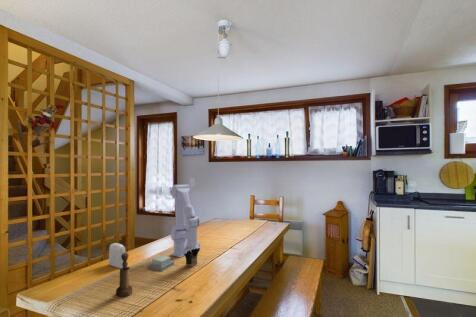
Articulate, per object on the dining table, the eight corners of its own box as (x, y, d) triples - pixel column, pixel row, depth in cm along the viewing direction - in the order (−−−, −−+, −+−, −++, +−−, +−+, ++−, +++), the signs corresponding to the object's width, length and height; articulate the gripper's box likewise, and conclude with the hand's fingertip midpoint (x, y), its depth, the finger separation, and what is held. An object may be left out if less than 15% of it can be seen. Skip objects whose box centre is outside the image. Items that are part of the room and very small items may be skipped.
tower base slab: (160, 262, 153) (160, 258, 153) (174, 265, 149) (174, 261, 149) (147, 268, 144) (148, 264, 144) (162, 272, 139) (162, 267, 139)
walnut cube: (190, 262, 151) (190, 255, 151) (197, 264, 150) (197, 256, 150) (185, 265, 147) (186, 257, 147) (192, 267, 145) (192, 258, 146)
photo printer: (126, 266, 145) (126, 244, 145) (119, 269, 141) (119, 246, 141) (114, 262, 150) (115, 241, 150) (107, 265, 146) (108, 243, 146)
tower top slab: (161, 259, 151) (161, 255, 151) (170, 261, 148) (170, 257, 148) (152, 263, 145) (152, 259, 145) (161, 266, 142) (162, 261, 142)
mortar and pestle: (134, 290, 119) (135, 250, 119) (129, 297, 112) (129, 255, 112) (119, 290, 119) (120, 250, 119) (113, 297, 112) (114, 255, 112)
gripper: (190, 243, 140) (189, 268, 140) (204, 236, 153) (204, 259, 153) (179, 241, 143) (179, 265, 143) (194, 234, 156) (194, 257, 156)
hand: (191, 262), depth 148 cm, fingers closed on walnut cube, 4 cm apart
